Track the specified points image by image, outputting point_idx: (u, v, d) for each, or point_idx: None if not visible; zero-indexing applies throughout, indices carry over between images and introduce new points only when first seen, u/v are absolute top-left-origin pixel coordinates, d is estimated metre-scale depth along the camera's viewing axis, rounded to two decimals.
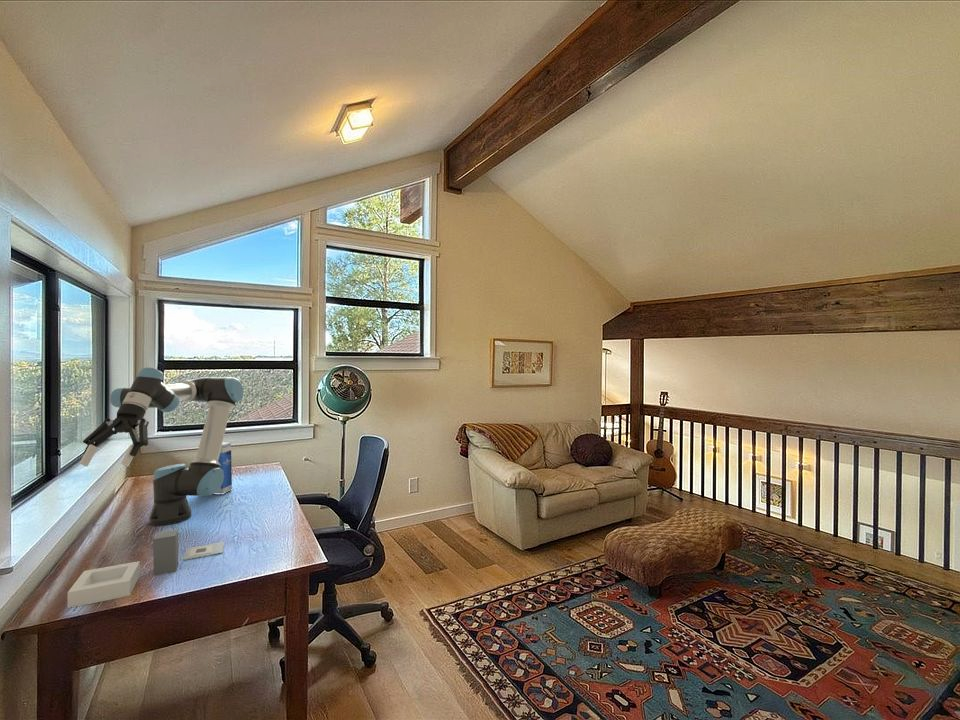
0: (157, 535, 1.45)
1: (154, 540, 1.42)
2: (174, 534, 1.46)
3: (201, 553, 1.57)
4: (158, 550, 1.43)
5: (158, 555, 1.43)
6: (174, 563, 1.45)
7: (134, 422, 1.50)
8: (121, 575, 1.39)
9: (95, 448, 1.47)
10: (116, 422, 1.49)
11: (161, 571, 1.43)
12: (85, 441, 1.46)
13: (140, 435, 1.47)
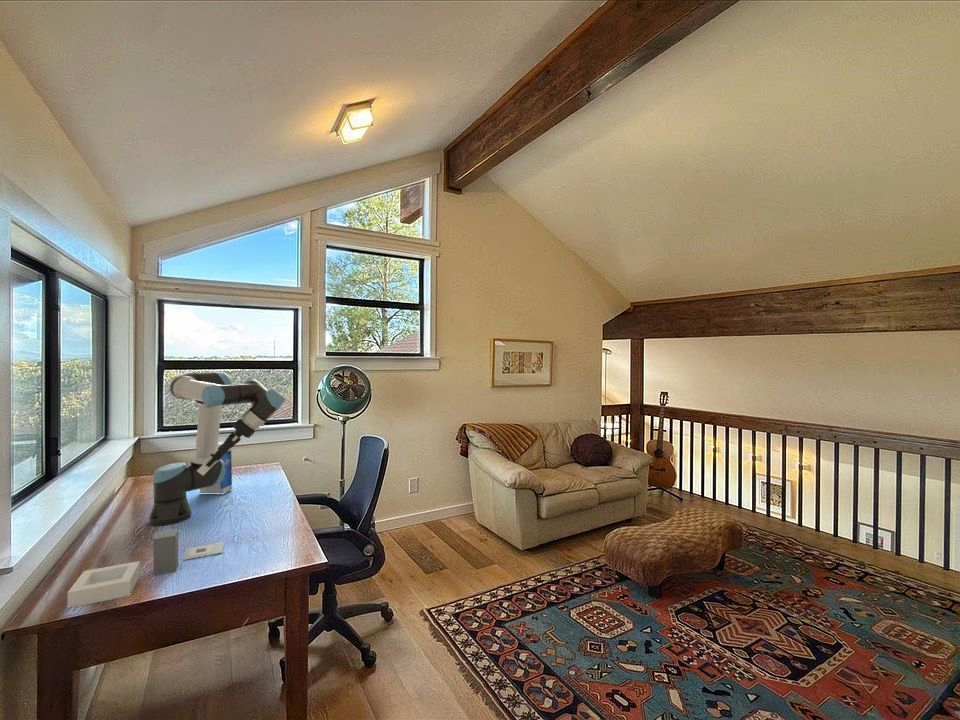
0: (157, 535, 1.45)
1: (154, 540, 1.42)
2: (174, 534, 1.46)
3: (201, 553, 1.57)
4: (158, 550, 1.43)
5: (158, 555, 1.43)
6: (174, 563, 1.45)
7: None
8: (121, 575, 1.39)
9: None
10: None
11: (161, 571, 1.43)
12: None
13: None
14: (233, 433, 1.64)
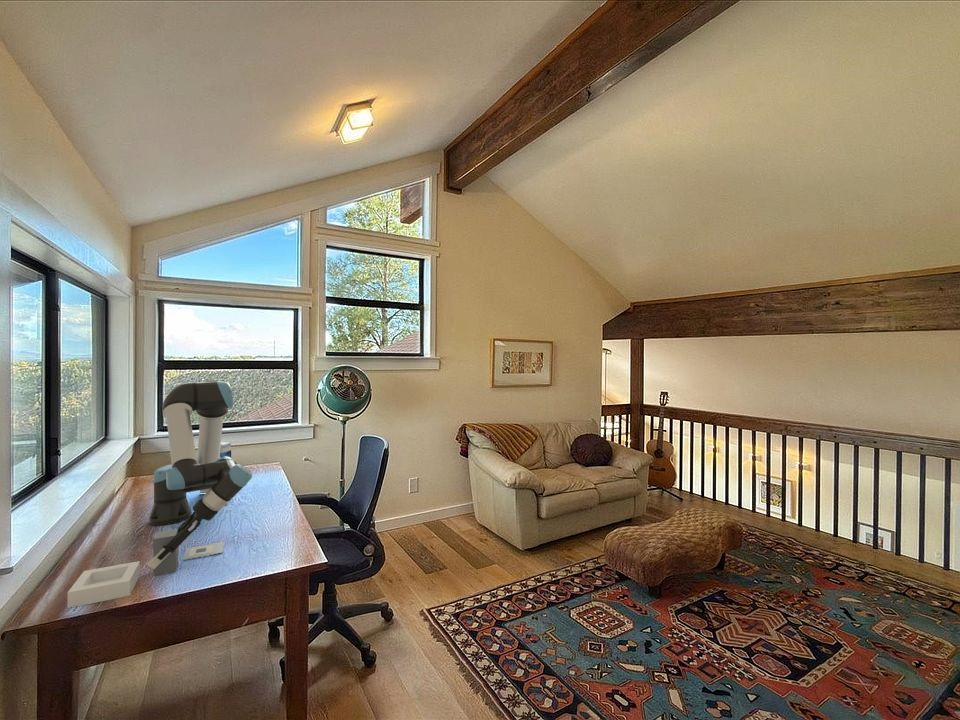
0: (157, 535, 1.45)
1: (154, 540, 1.42)
2: (174, 534, 1.46)
3: (201, 553, 1.57)
4: (158, 550, 1.43)
5: None
6: (174, 563, 1.45)
7: None
8: (121, 575, 1.39)
9: None
10: None
11: (161, 571, 1.43)
12: None
13: None
14: (193, 515, 1.50)
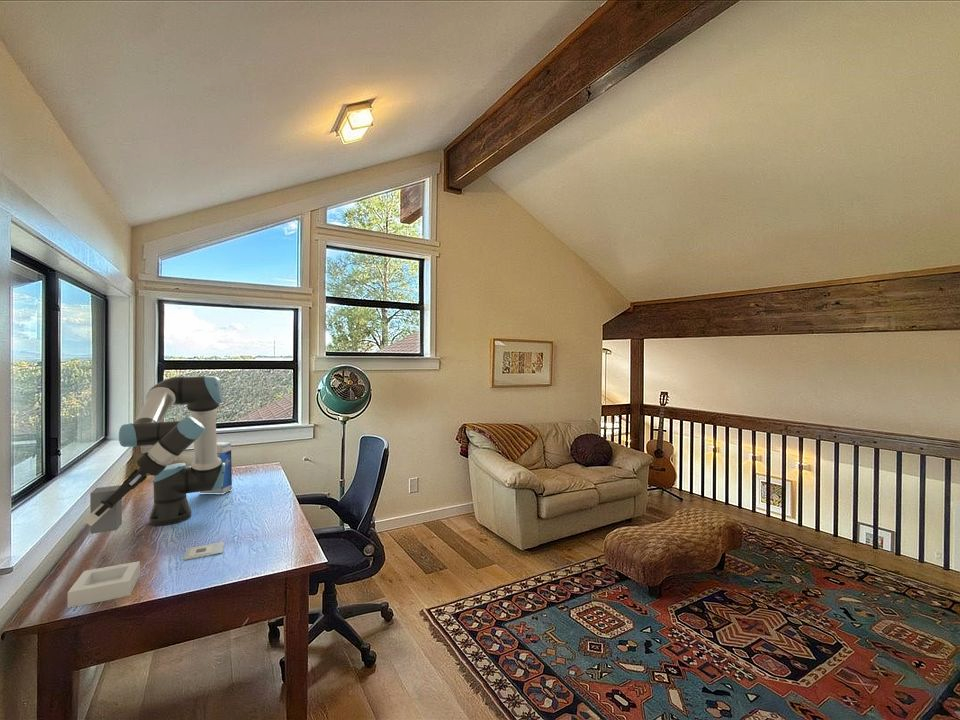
0: (96, 490, 1.32)
1: (91, 494, 1.29)
2: (115, 489, 1.33)
3: (201, 553, 1.57)
4: (96, 506, 1.30)
5: None
6: (115, 520, 1.32)
7: None
8: (121, 575, 1.39)
9: None
10: (142, 481, 1.36)
11: (99, 529, 1.30)
12: None
13: None
14: None
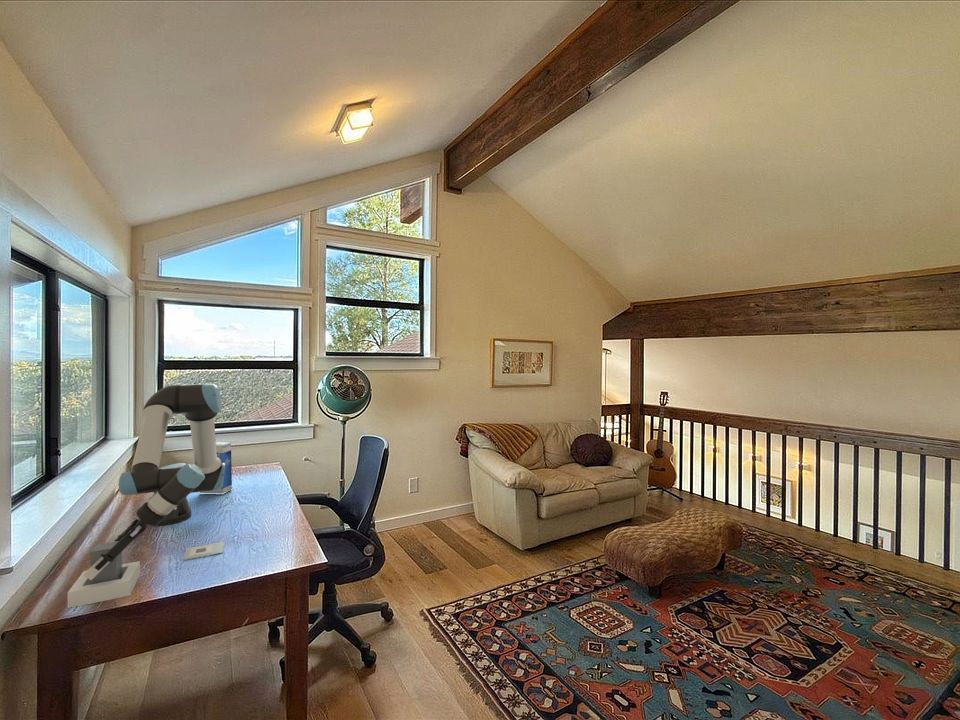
0: (96, 547, 1.32)
1: (91, 553, 1.30)
2: None
3: (201, 553, 1.57)
4: None
5: None
6: (114, 578, 1.32)
7: None
8: None
9: None
10: None
11: None
12: None
13: None
14: (137, 520, 1.38)
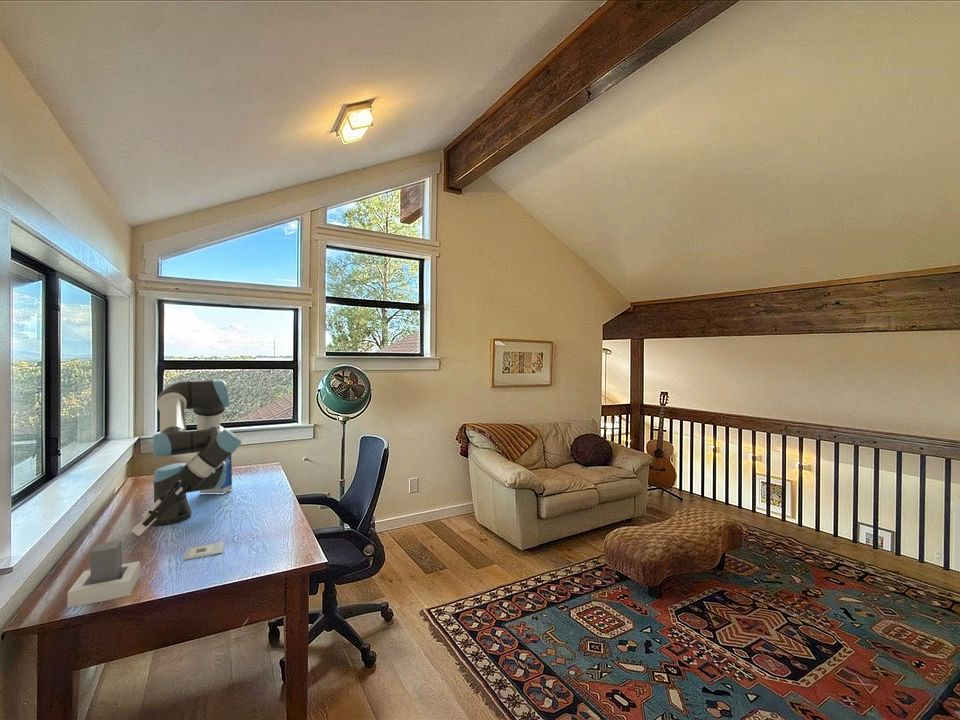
0: (96, 547, 1.32)
1: (91, 553, 1.29)
2: (115, 546, 1.33)
3: (201, 553, 1.57)
4: (96, 564, 1.30)
5: (97, 569, 1.30)
6: (114, 578, 1.32)
7: None
8: None
9: None
10: (183, 493, 1.40)
11: None
12: None
13: None
14: (178, 482, 1.42)
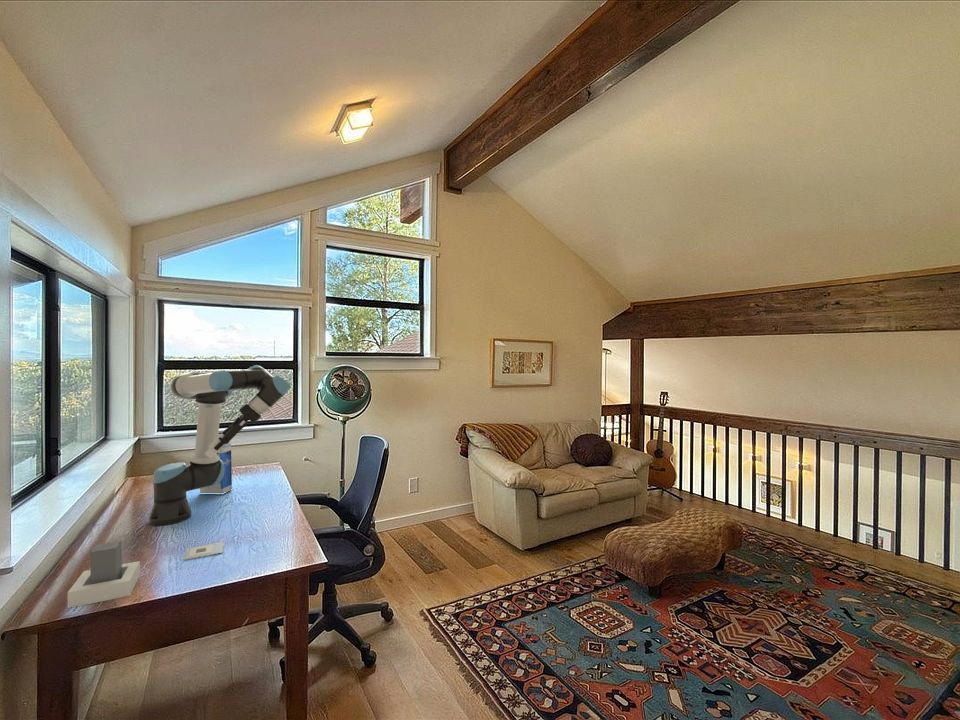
0: (96, 547, 1.32)
1: (91, 553, 1.29)
2: (115, 546, 1.33)
3: (201, 553, 1.57)
4: (96, 564, 1.30)
5: (97, 569, 1.30)
6: (114, 578, 1.32)
7: None
8: None
9: None
10: (244, 426, 1.66)
11: None
12: None
13: None
14: (239, 418, 1.67)
